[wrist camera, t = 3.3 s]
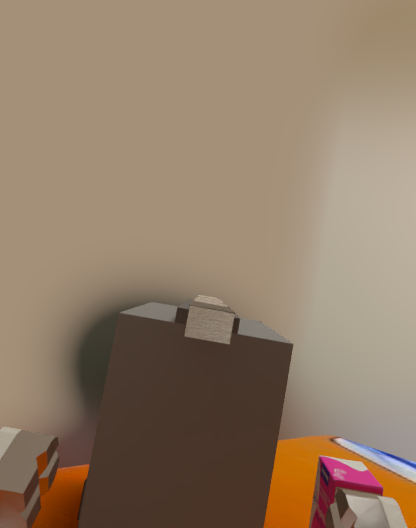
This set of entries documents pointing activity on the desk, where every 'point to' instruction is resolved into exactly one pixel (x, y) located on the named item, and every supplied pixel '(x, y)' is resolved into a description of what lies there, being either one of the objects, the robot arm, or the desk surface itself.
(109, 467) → the grey grooved block
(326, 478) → the supplement box
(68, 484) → the desk surface
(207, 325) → the bar
